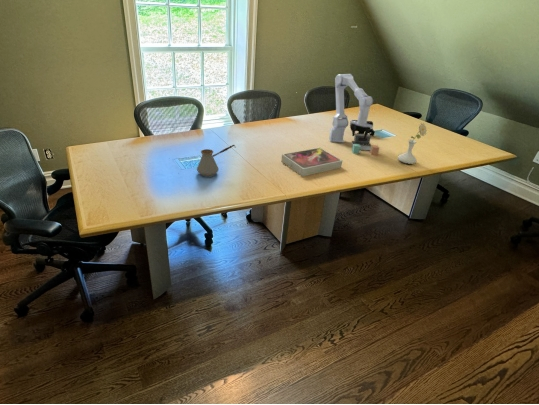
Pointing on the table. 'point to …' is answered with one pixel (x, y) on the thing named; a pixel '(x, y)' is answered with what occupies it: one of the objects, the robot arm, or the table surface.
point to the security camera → (362, 129)
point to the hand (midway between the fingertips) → (358, 137)
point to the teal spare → (356, 148)
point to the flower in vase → (408, 156)
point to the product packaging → (311, 161)
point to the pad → (365, 148)
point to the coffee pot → (209, 163)
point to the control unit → (362, 139)
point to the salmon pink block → (374, 150)
